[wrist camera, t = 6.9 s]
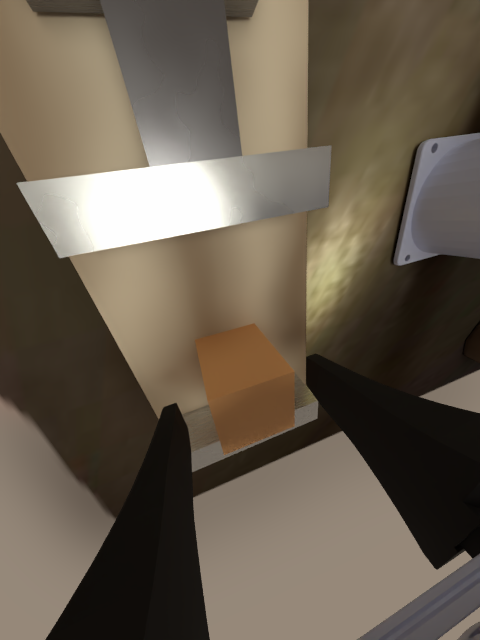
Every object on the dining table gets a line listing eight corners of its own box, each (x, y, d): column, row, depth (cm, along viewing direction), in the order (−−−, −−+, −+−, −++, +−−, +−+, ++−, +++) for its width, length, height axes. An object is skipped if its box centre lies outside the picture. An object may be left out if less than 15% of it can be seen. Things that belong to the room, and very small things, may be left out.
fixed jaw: (295, 373, 17) (318, 400, 14) (295, 389, 18) (317, 418, 15) (174, 417, 15) (175, 459, 12) (182, 433, 16) (184, 475, 13)
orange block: (259, 368, 15) (294, 426, 11) (207, 385, 14) (224, 455, 10) (254, 323, 13) (294, 371, 9) (194, 339, 12) (207, 401, 8)
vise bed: (286, -43, 8) (309, -94, 7) (296, 374, 19) (305, 385, 18) (-90, -79, 6) (-165, -165, 4) (169, 421, 17) (169, 438, 15)
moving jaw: (286, -51, 7) (349, -197, 4) (292, 210, 11) (328, 206, 8) (-77, -89, 5) (-312, -385, 3) (90, 248, 9) (59, 258, 6)
